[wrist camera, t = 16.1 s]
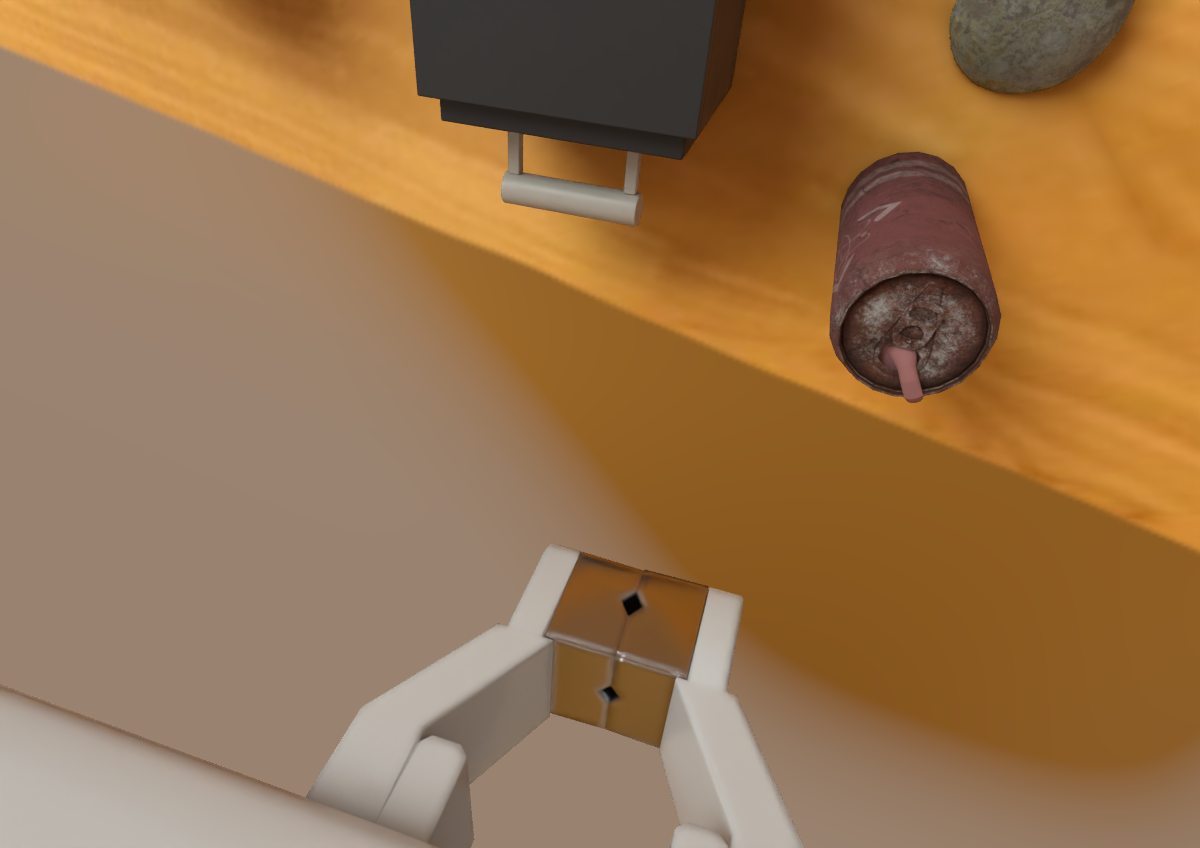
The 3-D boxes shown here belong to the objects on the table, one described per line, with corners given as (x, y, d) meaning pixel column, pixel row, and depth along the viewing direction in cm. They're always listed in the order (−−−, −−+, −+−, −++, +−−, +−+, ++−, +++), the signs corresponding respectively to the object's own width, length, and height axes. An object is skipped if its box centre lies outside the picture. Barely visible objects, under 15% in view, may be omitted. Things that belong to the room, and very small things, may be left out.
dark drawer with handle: (700, 196, 40) (669, 253, 34) (507, 163, 42) (446, 210, 36) (768, -239, 29) (740, -269, 23) (502, -256, 31) (414, -285, 25)
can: (858, 280, 41) (852, 424, 30) (827, 173, 38) (809, 290, 28) (977, 248, 38) (1017, 394, 28) (953, 130, 35) (987, 241, 25)
